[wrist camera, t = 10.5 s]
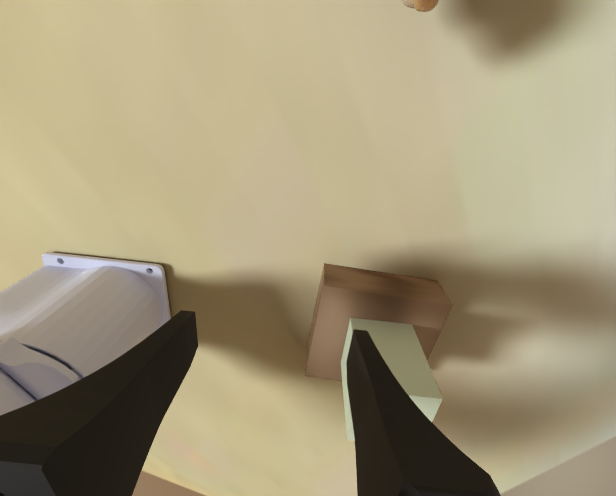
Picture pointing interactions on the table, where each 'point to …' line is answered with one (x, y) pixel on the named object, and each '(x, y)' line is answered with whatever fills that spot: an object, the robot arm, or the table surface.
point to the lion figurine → (421, 4)
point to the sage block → (396, 365)
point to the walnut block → (369, 312)
